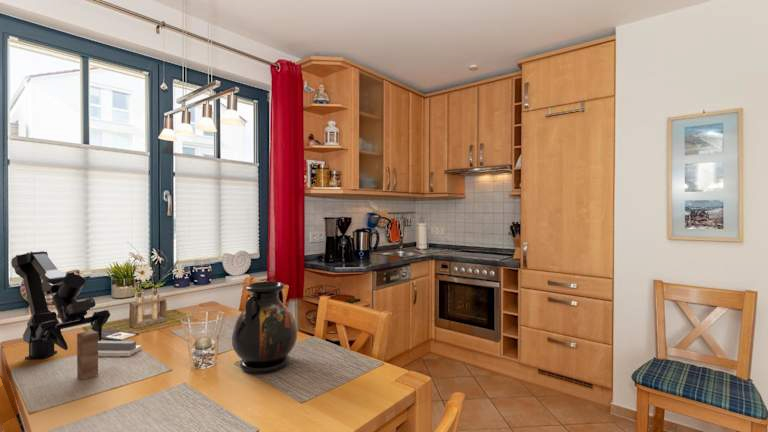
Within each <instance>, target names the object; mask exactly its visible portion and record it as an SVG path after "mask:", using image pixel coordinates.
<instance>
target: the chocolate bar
mask: <svg viewBox="0 0 768 432" xmlns="http://www.w3.org/2000/svg"><path fill="white" fill-rule="evenodd" d="M138 335H140V334H139V333H138V332H131V331H124V330H119V329H111V328H106V329H104V330H103V329H102V339H101V340H104V341H125V340H127V339H129V338H133V337H136V336H138Z"/></svg>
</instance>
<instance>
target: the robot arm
mask: <svg viewBox="0 0 768 432" xmlns="http://www.w3.org/2000/svg"><path fill="white" fill-rule="evenodd" d="M10 264H11V266H12V268H13V269H14V272H15V274H16V275H17V276H18V277H20V278H21V279H22V280H23V284H24V289H25V293H26V298H27V301H28V302H27V303H28V306H29V311H30V315H31V316H30V317H29V319H28V321H27V323H26V326H27V327H25V330H24V333H23V334H22V340H23V342H25V343H27V344H28V355H27V356H25V357H24V359H26V360H31V359H32V360H33V359H35V360H42V359H44V358H48V357H49V356H52V355H54V354H56V353H58V350H55V345H56V346H58V347H59V348H61V349H63V350H64V351H67V350H68V344H67V341H66V339H65V338H64V335H63V334H62V330H64V329H69V328H73V327H77V326H82V325H86V324H90V326H92V327H91V330H92V331H95V332H98V341H102V340H103V339H102V331H103V326H104V325H105V324H106V323H107V321H108V320H109V318H110V317H111V313H110V311H109V310H108V309H102V310H97V311H93V314H92V315H91V316H89V317H85V316H87V314H88V311H89V310H91V309H92V308H94V307H95V306H96V301H95V298H94V297H89V298H88V297H87V298H85V300H80V301H78V299H77V298H76V297H78V296H79V295H80V293H81V291H82V289H83V287H84V285H85V283H86V280H85V278H84V277H83V276H81V275H79V274H76V273H75V272H74V271H73V272H71V271H70V272H65V271H61V270H59V268H57V266H56V265H55V263H54V262H53V261H52V260H51V258H50V257H49V255H48V251H46V250H35V251H34V250H33V251H32V250H31V251H29V252H26V253H23V254H16V255H15V256H14V257H13V258H11V262H10ZM53 294H54V295H53ZM46 295H53V296H52V299H51V300H52V301H51V305H52V306H53V305H54V307H55V309H56V311H51V310H49V307H48V302H47V298H46ZM56 312H57V313H56ZM59 319H60V321H61V322H60V321H59Z"/></svg>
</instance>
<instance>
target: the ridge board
mask: <svg viewBox="0 0 768 432" xmlns="http://www.w3.org/2000/svg"><path fill="white" fill-rule="evenodd" d="M141 350H142V344H141V345H137V340H121V341H111V340H101V341H99V340H98V357H120V356H129V357H130V356H132V355H134V354H135V352H136V353H137V352H139V351H141ZM133 353H134V354H133ZM131 354H132V355H131Z"/></svg>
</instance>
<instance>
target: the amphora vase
mask: <svg viewBox="0 0 768 432" xmlns="http://www.w3.org/2000/svg"><path fill="white" fill-rule="evenodd" d="M284 288H285V284H284V283H282V282H279V281H258V282H253V283H249V284H247V285H246V286H245V290H246V291H247V292H250V293H251V296H250V297H248V298H247V299H246V303H245V307H244V308H243V309H244V310H243V311H242V312H241V313H240V314H239V315H238V317H237V319H236V321H235V324H234V326H233V329H232V330H233V331H232V336H231V345H232V348H233V351H234V352H235V354H236V355H237V356H238V358H240V359H241V360H240V363H239V367H240V368H241V369H242V371H244V372H245V373H250V374H256V375H257V374H260V375H261V374H268V373H269V374H270V373H274V372H276V371H279V370H282V369H283V368H285V367H286V366H287V365H288V364H289V363H290V360H291V358H290V355H289V354H290V353H291V352H292V350H293V348H294V347H295V345H296V343H297V339H298V329H297V323H296V321H295V317H294V316H293V314H292V312H291V310H290V309H289V308H288V307H287V306H286V305H285V304H284V294H283V289H284Z"/></svg>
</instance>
